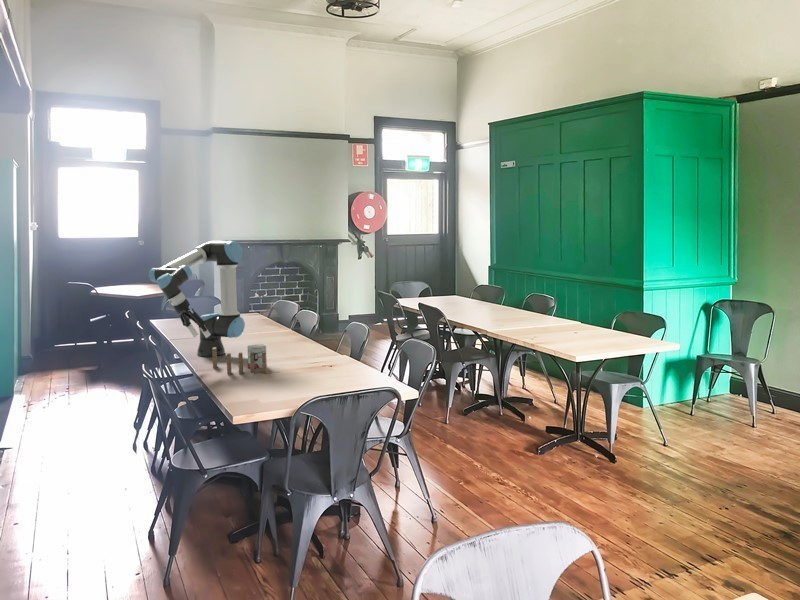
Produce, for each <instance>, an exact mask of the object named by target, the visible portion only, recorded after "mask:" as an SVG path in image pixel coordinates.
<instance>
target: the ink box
mask: <svg viewBox="0 0 800 600" xmlns="http://www.w3.org/2000/svg"><path fill="white" fill-rule="evenodd" d="M251 352H254V361H255V362H254V363H255V370H257V369H256V368H259V369H263V367H262V352H266V353H267V345H266V344H262V343H258V344H250V345H247V368H248V369H250V370H251V360H250V353H251ZM267 365H268V364H267V359H266V368H267V367H268V366H267Z"/></svg>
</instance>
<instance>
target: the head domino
mask: <svg viewBox="0 0 800 600" xmlns="http://www.w3.org/2000/svg"><path fill="white" fill-rule="evenodd" d="M211 357H212V359H211V360H212V369H217V368H218V356H217V350H216V347H213V349H212V356H211ZM216 367H217V368H216Z"/></svg>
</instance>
